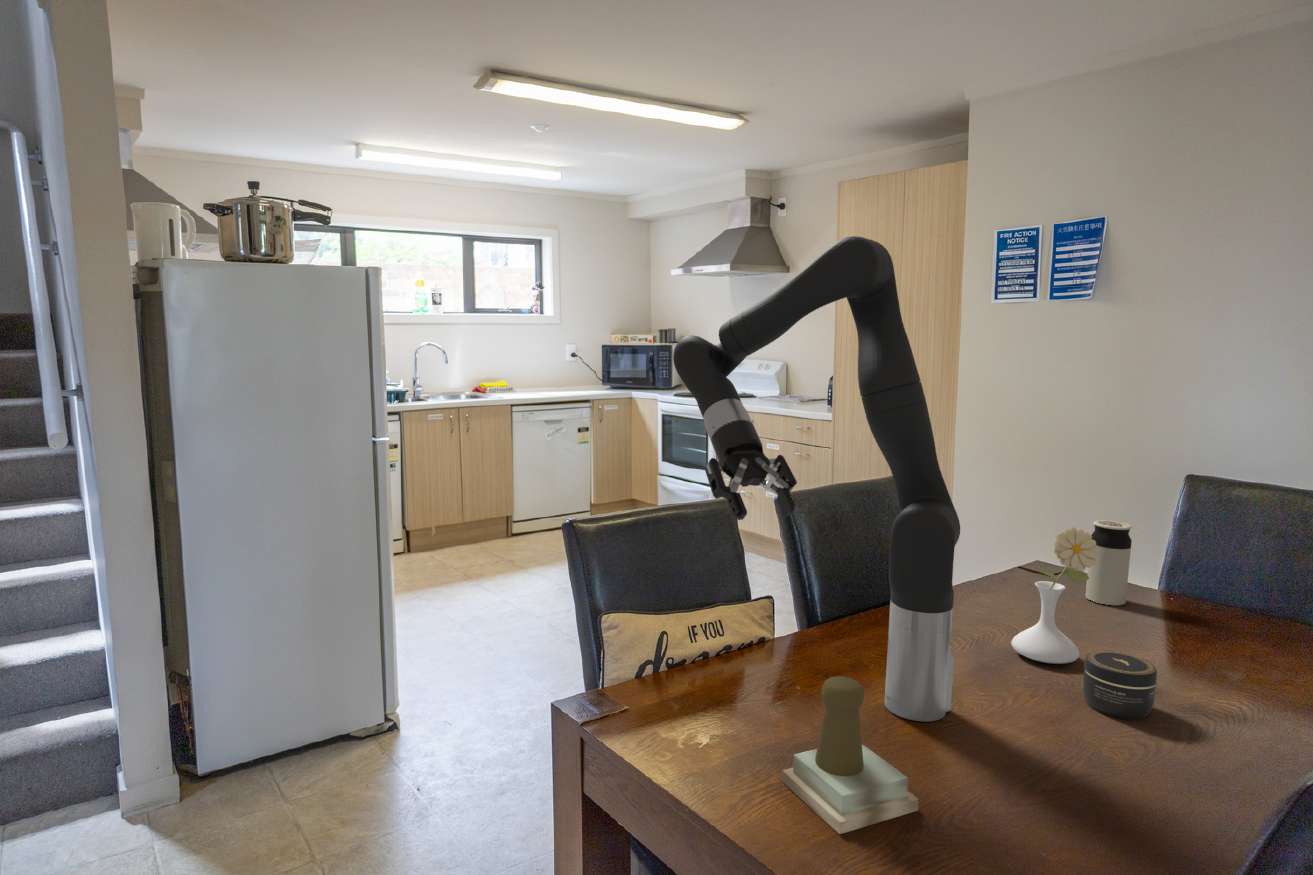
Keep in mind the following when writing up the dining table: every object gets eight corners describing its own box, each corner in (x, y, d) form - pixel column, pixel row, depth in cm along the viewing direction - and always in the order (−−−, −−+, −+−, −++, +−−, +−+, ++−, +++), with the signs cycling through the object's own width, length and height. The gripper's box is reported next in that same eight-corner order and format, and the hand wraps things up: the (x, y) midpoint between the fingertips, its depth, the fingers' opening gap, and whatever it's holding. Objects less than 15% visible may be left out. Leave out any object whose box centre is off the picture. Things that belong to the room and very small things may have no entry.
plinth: (855, 761, 106) (856, 734, 105) (918, 810, 95) (920, 780, 95) (781, 780, 101) (782, 752, 100) (839, 834, 90) (841, 802, 90)
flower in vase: (1011, 663, 140) (1022, 529, 137) (1009, 641, 151) (1018, 516, 148) (1093, 676, 135) (1106, 537, 132) (1084, 652, 146) (1096, 523, 143)
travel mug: (1093, 605, 173) (1100, 526, 171) (1079, 593, 181) (1086, 518, 179) (1131, 607, 172) (1139, 529, 170) (1116, 596, 180) (1123, 520, 177)
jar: (1092, 687, 131) (1096, 644, 130) (1160, 707, 124) (1165, 662, 123) (1072, 705, 124) (1076, 660, 123) (1143, 728, 117) (1148, 680, 116)
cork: (809, 751, 101) (812, 670, 99) (854, 749, 101) (858, 670, 100) (823, 776, 95) (827, 691, 94) (870, 775, 95) (875, 690, 94)
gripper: (701, 419, 122) (736, 504, 113) (777, 417, 128) (816, 498, 119) (685, 448, 127) (717, 531, 118) (759, 444, 133) (795, 524, 124)
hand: (767, 515), depth 119 cm, fingers open, 8 cm apart
